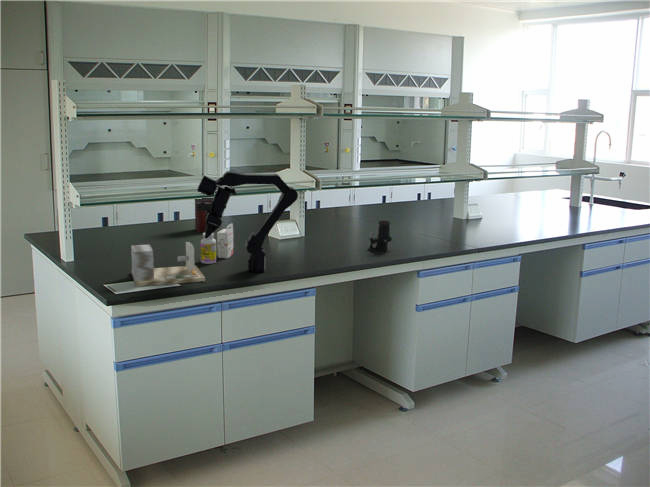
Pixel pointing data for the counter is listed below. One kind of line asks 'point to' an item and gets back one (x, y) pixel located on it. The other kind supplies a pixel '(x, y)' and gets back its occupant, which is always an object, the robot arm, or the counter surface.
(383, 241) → the scope
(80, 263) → the counter surface
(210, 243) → the supplement bottle
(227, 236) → the ink cartridge box
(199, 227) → the toy vending machine
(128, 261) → the counter surface
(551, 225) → the counter surface
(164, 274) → the gauge frame
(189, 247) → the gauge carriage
